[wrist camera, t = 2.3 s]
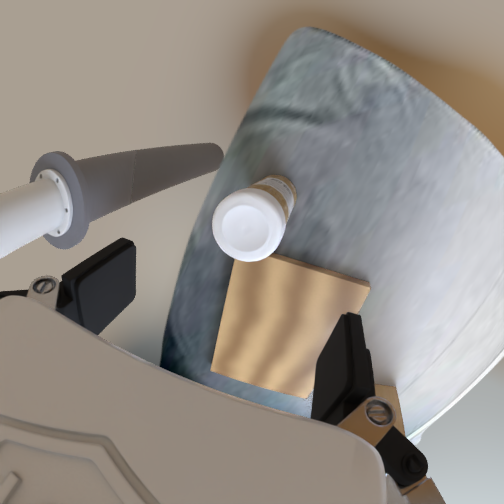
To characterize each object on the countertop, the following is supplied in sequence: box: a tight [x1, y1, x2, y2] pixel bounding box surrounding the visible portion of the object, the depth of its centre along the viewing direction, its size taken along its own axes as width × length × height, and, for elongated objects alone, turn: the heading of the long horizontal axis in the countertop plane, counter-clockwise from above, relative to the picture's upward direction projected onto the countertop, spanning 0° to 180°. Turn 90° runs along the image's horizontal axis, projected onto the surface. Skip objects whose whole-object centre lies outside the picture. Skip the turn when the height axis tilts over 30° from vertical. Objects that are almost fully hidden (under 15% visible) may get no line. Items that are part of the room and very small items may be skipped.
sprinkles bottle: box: [212, 175, 297, 262], centre depth 23 cm, size 5×5×13 cm
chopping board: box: [211, 253, 371, 399], centre depth 35 cm, size 16×22×2 cm
